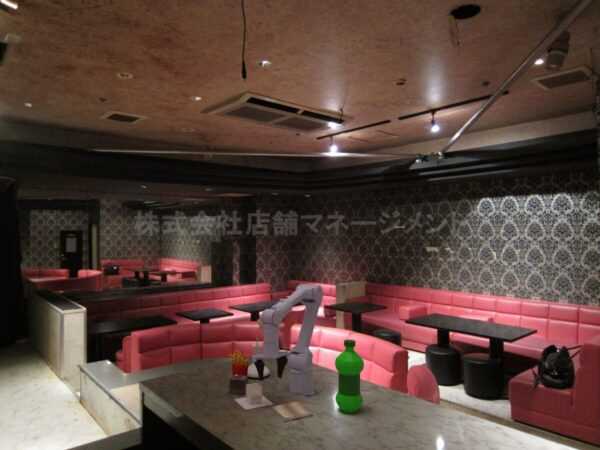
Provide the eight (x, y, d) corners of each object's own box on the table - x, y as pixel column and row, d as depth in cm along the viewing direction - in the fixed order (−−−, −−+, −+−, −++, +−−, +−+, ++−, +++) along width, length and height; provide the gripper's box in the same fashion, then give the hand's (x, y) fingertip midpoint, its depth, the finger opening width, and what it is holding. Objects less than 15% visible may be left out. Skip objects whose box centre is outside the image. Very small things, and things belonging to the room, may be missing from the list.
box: (243, 399, 163) (244, 380, 163) (228, 398, 164) (229, 378, 164) (248, 394, 169) (249, 375, 169) (234, 392, 170) (234, 374, 170)
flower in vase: (268, 380, 186) (269, 323, 187) (242, 379, 186) (243, 322, 187) (270, 371, 199) (271, 317, 200) (246, 370, 199) (247, 317, 200)
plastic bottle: (346, 402, 161) (347, 336, 162) (368, 410, 154) (369, 341, 155) (329, 409, 154) (329, 340, 155) (351, 418, 147) (352, 345, 148)
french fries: (248, 384, 180) (249, 348, 181) (247, 391, 172) (247, 353, 172) (228, 384, 180) (228, 348, 180) (225, 391, 171) (226, 353, 172)
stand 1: (260, 398, 164) (260, 394, 164) (273, 408, 155) (273, 404, 155) (234, 403, 159) (234, 399, 159) (245, 413, 149) (245, 409, 149)
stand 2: (297, 405, 157) (297, 401, 157) (313, 416, 148) (313, 411, 148) (271, 411, 152) (271, 406, 152) (285, 422, 142) (285, 418, 142)
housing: (256, 398, 160) (256, 382, 160) (261, 402, 156) (261, 386, 156) (245, 400, 157) (246, 384, 158) (250, 404, 154) (250, 388, 154)
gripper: (258, 346, 150) (257, 385, 149) (293, 342, 157) (292, 378, 157) (249, 342, 156) (249, 379, 155) (284, 338, 163) (283, 373, 163)
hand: (270, 378), depth 156 cm, fingers open, 7 cm apart
